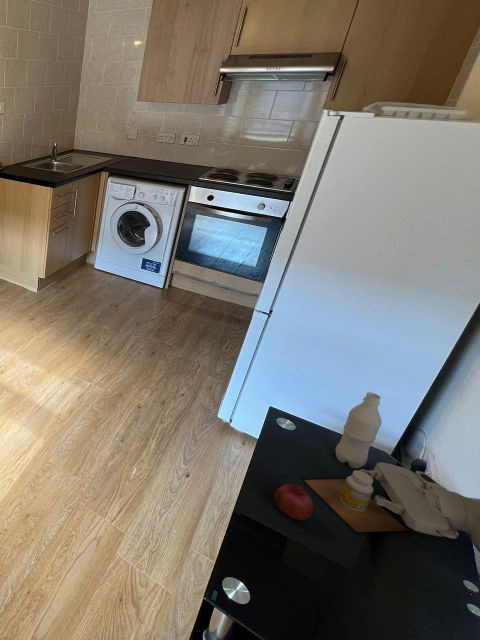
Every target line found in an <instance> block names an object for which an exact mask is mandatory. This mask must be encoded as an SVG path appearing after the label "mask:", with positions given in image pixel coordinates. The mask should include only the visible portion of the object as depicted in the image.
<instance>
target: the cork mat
mask: <svg viewBox="0 0 480 640" xmlns="http://www.w3.org/2000/svg"><path fill="white" fill-rule="evenodd" d="M346 479H347V478H329V479H326V478H325V479H304V480H303V481H304V482H305V484H307V486H309V487H310V489H312V490H313V492H314V493H316V494H317V495H318V496H319V498H321V499H322V500H323V501H324V502H325V503H326V504H327V505H328V506H329V507H330V508H331V509H332V510H333V511H334V512H335V513H336V514H337V515H338V516H339V517H340V518H341V519H342V520H343V521H344V522H345V523H346V524H347V525H348V526H349V527H351V529H353V531H354V532H355V533H376V532H377V533H379V532H381V533H382V532H407V531H408V529H407V528H406V527H405V526H404V525H403V524H402V523H400V521H398V520H397V519H396V518H395V517H394V516H393V515H391V513H389V512H388V511H387V510H385V508H383V506H380V505H378V504H377V503H376V501H375V500H374V498H372V497H371V498H370V500H369V503H368V505H367V508H366V510H365V511H362V512H360V511H355V510H353V509H351V508H349V507H347V506H346V505H345V504H344V503H343V502H342V501H341V500H340V494H341V492H342V489H343V486H344V484H345V481H346Z"/></svg>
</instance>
